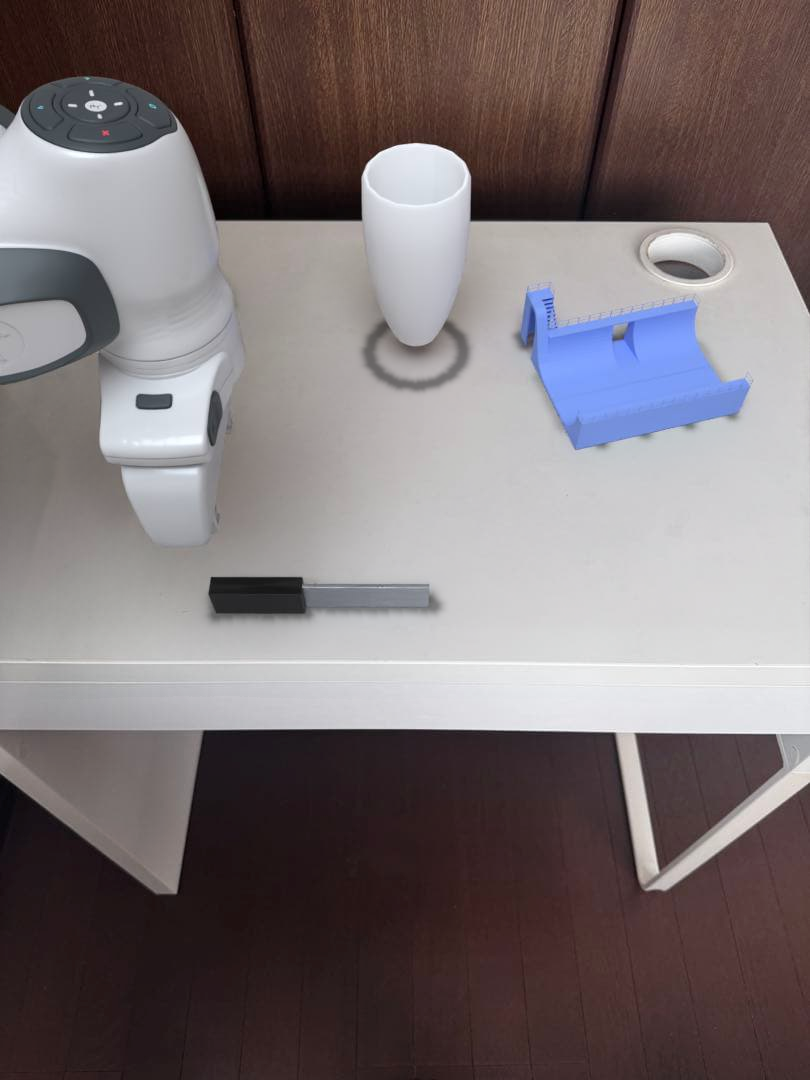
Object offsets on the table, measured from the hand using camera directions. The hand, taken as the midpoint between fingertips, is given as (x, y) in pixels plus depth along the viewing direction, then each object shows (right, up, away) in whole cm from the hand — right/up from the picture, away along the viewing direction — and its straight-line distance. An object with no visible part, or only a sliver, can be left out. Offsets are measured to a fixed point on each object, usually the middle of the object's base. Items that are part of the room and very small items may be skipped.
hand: (215, 475), depth 67 cm
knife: (+7, -11, +11) cm, 17 cm away
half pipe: (+38, +13, +26) cm, 48 cm away
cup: (+16, +16, +28) cm, 36 cm away
